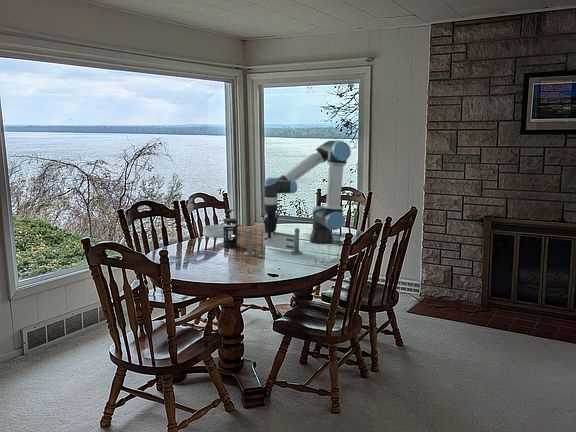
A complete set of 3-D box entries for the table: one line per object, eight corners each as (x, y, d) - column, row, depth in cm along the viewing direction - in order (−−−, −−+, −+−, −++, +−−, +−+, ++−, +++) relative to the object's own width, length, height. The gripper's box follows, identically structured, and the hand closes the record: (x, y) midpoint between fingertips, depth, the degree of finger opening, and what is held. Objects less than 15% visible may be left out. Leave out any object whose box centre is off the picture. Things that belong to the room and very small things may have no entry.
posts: (301, 252, 314) (301, 227, 312) (302, 254, 308) (302, 229, 306) (244, 253, 311) (244, 227, 308) (244, 255, 305) (244, 229, 302)
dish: (241, 233, 371) (241, 226, 370) (222, 239, 352) (222, 231, 351) (216, 230, 382) (216, 223, 381) (196, 235, 363) (196, 228, 362)
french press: (233, 249, 321) (232, 211, 318) (219, 247, 325) (219, 210, 321) (242, 245, 332) (242, 208, 328) (229, 243, 336) (228, 207, 332)
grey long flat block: (295, 250, 313) (295, 235, 311) (292, 251, 310) (292, 235, 309) (265, 244, 327) (265, 230, 325) (261, 245, 324) (261, 231, 323)
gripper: (272, 202, 321) (271, 240, 324) (259, 204, 310) (258, 244, 314) (282, 203, 316) (282, 242, 320) (269, 205, 306) (269, 246, 310)
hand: (270, 243), depth 317 cm, fingers closed
